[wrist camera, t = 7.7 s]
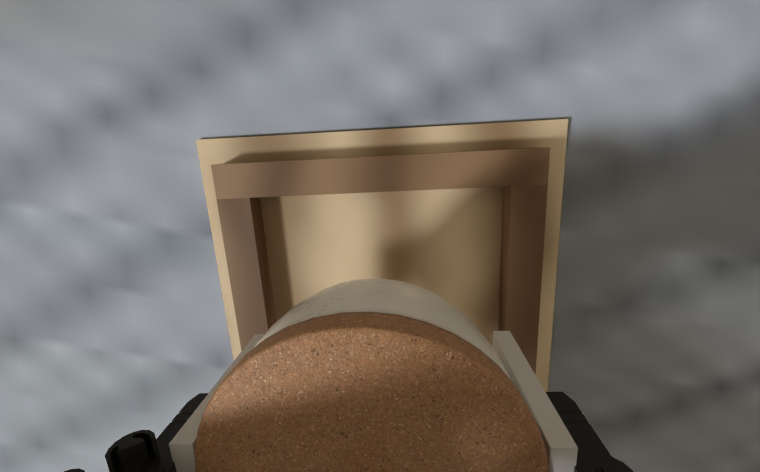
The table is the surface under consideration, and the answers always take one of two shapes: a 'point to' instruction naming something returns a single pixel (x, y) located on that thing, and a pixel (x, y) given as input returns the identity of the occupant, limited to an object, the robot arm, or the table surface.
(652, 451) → the table surface
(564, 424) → the robot arm
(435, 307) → the lidded jar
